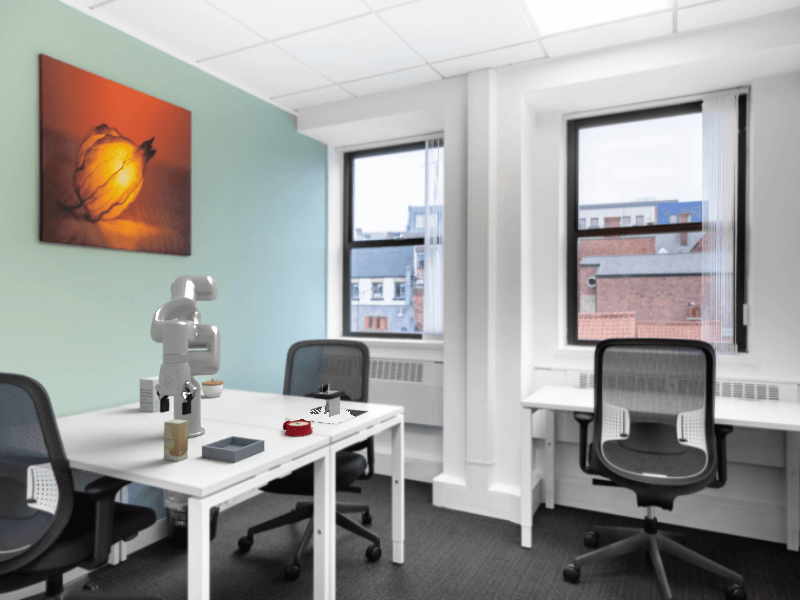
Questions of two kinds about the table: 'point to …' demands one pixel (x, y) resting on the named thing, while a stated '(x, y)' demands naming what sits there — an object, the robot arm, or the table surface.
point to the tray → (233, 448)
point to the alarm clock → (297, 427)
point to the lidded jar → (212, 388)
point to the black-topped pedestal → (332, 401)
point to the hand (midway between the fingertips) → (175, 413)
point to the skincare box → (175, 440)
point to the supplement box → (149, 394)
